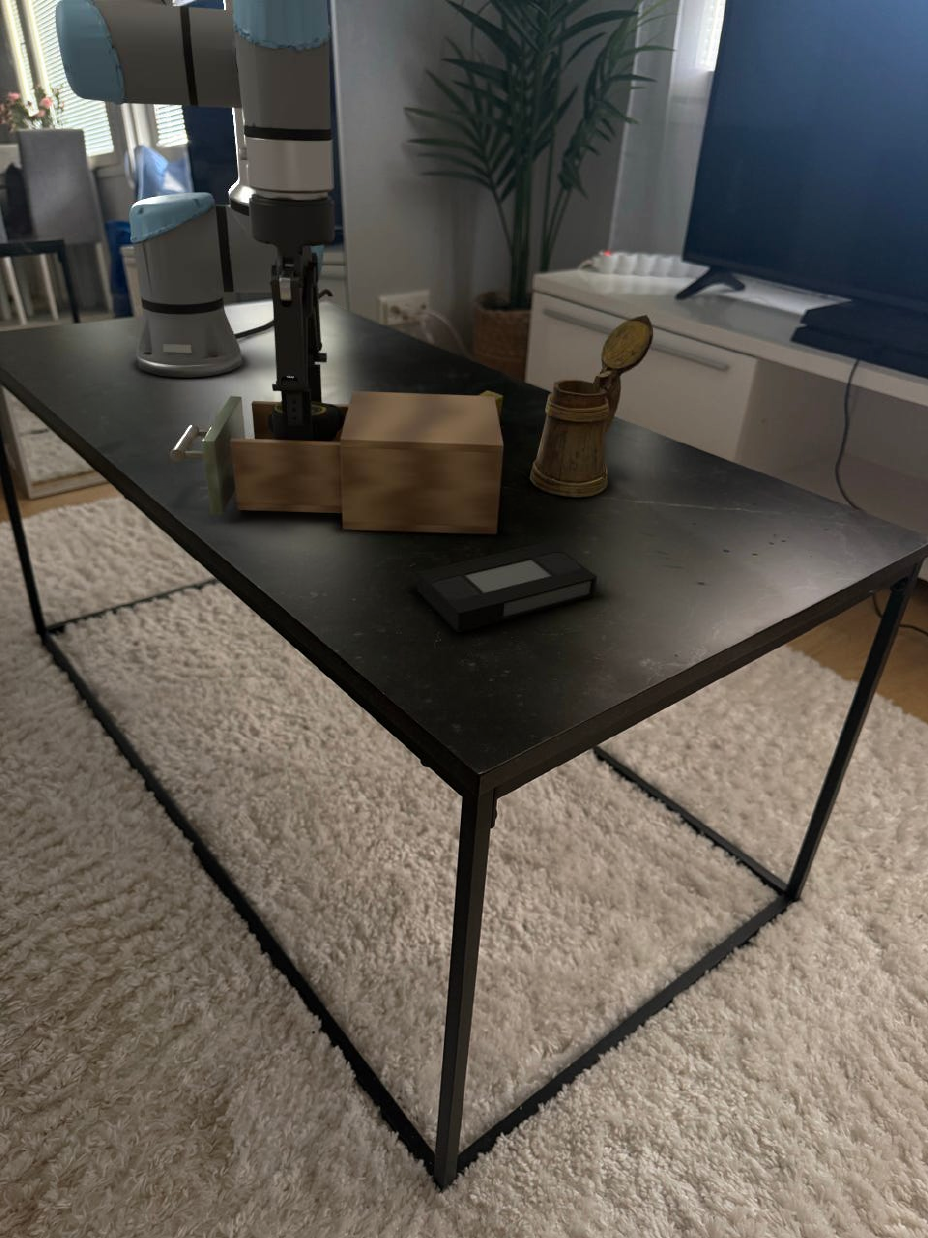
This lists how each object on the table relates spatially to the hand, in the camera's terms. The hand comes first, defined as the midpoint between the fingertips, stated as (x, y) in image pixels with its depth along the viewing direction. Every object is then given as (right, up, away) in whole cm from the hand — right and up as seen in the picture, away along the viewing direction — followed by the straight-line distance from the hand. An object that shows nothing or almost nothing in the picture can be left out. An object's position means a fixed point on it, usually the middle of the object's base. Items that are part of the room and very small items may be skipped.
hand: (304, 438), depth 87 cm
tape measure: (0, 0, +1) cm, 1 cm away
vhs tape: (+20, -17, -11) cm, 29 cm away
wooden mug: (+31, -2, +12) cm, 33 cm away
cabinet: (+12, -6, +4) cm, 14 cm away
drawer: (-4, -5, +3) cm, 7 cm away
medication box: (+17, +5, +22) cm, 29 cm away
